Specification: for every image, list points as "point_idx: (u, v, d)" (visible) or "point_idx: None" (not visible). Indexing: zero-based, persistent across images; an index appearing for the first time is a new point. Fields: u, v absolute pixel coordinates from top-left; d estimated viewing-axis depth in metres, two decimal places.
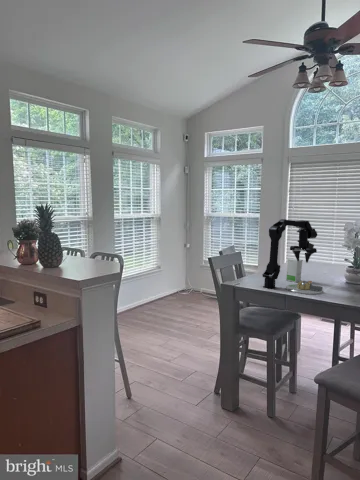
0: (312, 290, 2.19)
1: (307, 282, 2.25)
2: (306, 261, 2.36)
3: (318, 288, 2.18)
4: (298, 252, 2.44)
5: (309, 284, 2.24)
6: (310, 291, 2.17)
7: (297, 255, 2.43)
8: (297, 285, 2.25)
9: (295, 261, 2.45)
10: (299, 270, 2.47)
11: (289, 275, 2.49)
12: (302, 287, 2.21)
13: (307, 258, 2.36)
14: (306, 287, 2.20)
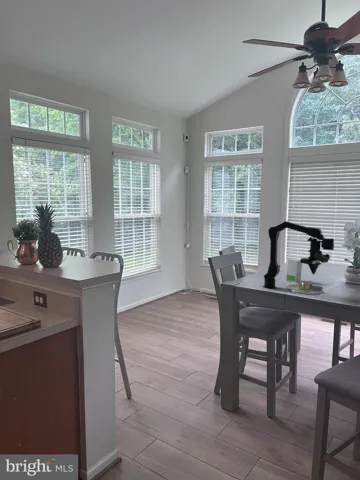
0: (312, 290, 2.19)
1: (307, 282, 2.25)
2: None
3: (318, 288, 2.18)
4: None
5: (309, 284, 2.24)
6: (310, 291, 2.17)
7: None
8: (297, 285, 2.25)
9: (295, 261, 2.45)
10: (299, 270, 2.47)
11: (289, 275, 2.49)
12: (302, 287, 2.21)
13: (311, 269, 2.14)
14: (306, 287, 2.20)
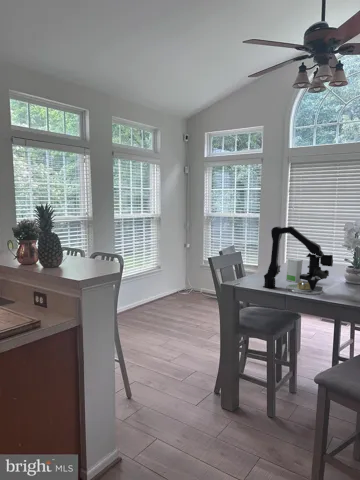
0: (312, 290, 2.19)
1: (307, 282, 2.25)
2: None
3: (318, 288, 2.18)
4: None
5: None
6: (310, 291, 2.17)
7: None
8: (297, 285, 2.25)
9: (295, 261, 2.45)
10: (299, 270, 2.47)
11: (289, 275, 2.49)
12: (302, 287, 2.21)
13: (310, 285, 2.15)
14: (306, 287, 2.20)
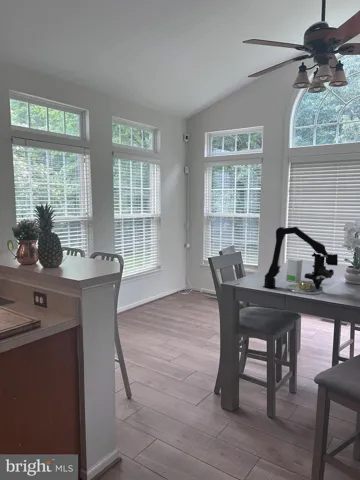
0: (312, 290, 2.19)
1: (307, 282, 2.25)
2: None
3: None
4: None
5: (309, 284, 2.24)
6: (310, 291, 2.17)
7: None
8: (297, 285, 2.25)
9: (295, 261, 2.45)
10: (299, 270, 2.47)
11: (289, 275, 2.49)
12: (302, 287, 2.21)
13: (315, 284, 2.18)
14: (306, 287, 2.20)
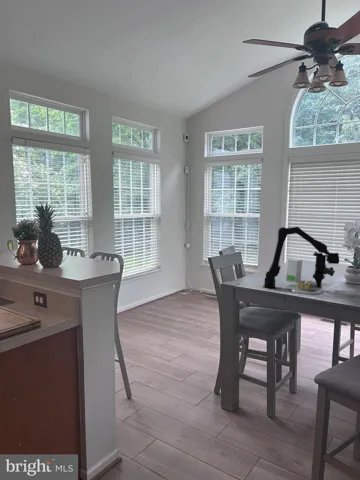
0: (312, 290, 2.19)
1: (305, 282, 2.26)
2: None
3: None
4: None
5: None
6: (310, 291, 2.17)
7: None
8: (299, 286, 2.22)
9: (295, 261, 2.45)
10: (299, 270, 2.47)
11: (289, 275, 2.49)
12: (306, 287, 2.20)
13: (317, 283, 2.21)
14: (309, 287, 2.21)
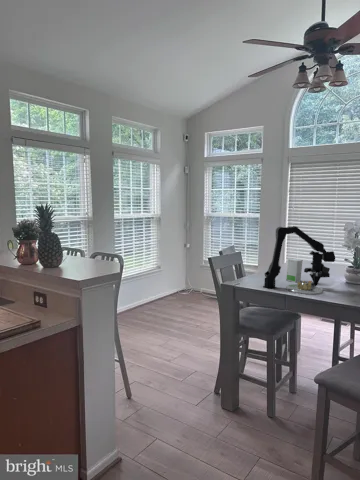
0: (312, 290, 2.19)
1: (303, 281, 2.27)
2: (315, 284, 2.27)
3: None
4: None
5: (305, 283, 2.27)
6: (310, 291, 2.17)
7: None
8: (303, 287, 2.21)
9: (295, 261, 2.45)
10: (299, 270, 2.47)
11: (289, 275, 2.49)
12: (309, 287, 2.21)
13: (316, 281, 2.26)
14: (310, 286, 2.23)
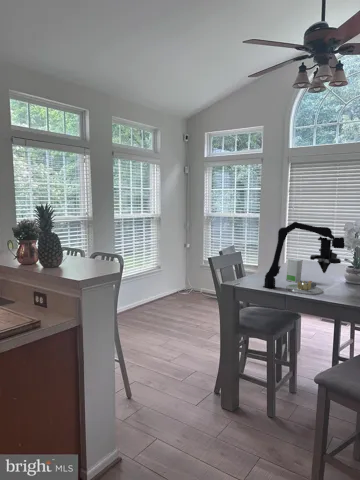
0: (312, 290, 2.19)
1: (303, 281, 2.27)
2: (324, 271, 2.17)
3: (314, 284, 2.28)
4: None
5: (305, 283, 2.27)
6: (310, 291, 2.17)
7: None
8: (303, 287, 2.21)
9: (295, 261, 2.45)
10: (299, 270, 2.47)
11: (289, 275, 2.49)
12: (309, 287, 2.21)
13: (325, 268, 2.16)
14: (310, 286, 2.23)
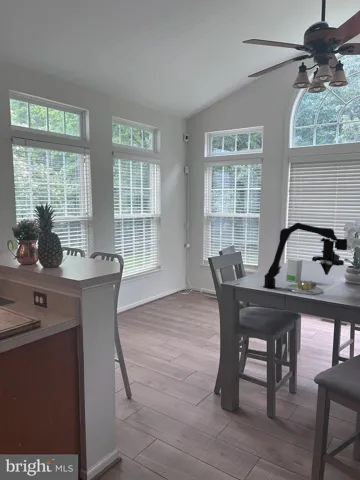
0: (312, 290, 2.19)
1: (303, 281, 2.27)
2: (326, 273, 2.13)
3: (314, 284, 2.28)
4: None
5: (305, 283, 2.27)
6: (310, 291, 2.17)
7: None
8: (303, 287, 2.21)
9: (295, 261, 2.45)
10: (299, 270, 2.47)
11: (289, 275, 2.49)
12: (309, 287, 2.21)
13: (327, 270, 2.12)
14: (310, 286, 2.23)
